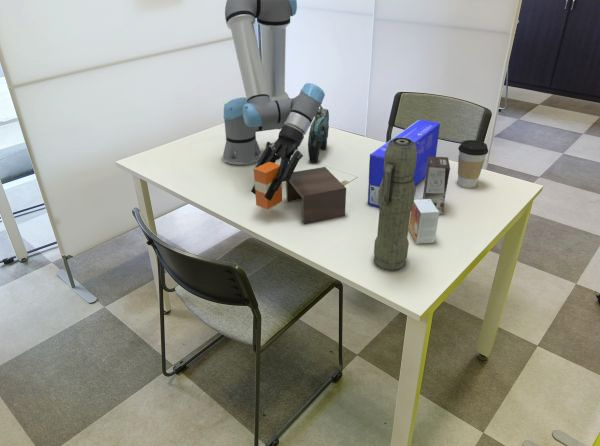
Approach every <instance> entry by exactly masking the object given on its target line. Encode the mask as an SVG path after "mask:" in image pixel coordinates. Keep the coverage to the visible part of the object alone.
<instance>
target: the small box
mask: <svg viewBox="0 0 600 446" xmlns="http://www.w3.org/2000/svg"><path fill="white" fill-rule="evenodd" d="M439 218H440V214H439V211H438V210H437V208H436V207H435V205H434V204H433V202H432V200H431V199H423V198H420V199H414V204H413V209H412V210H411V213H410V221H409V229H408V232H409V233H410V234H411V237H412V239H413V240H414V243H415V244H416V245H418V244H419V245H420V244H434V243H435V241H436V236H437V229H438V223H439Z"/></svg>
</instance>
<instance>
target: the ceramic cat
mask: <svg viewBox="0 0 600 446" xmlns="http://www.w3.org/2000/svg"><path fill="white" fill-rule="evenodd" d="M329 121H330V112H329V110H328V108H323V106H322V104H321V105H320V107H319V109H318V111H317V113H316V115H315V117H314V119H313V121H312V122H311V124H310V127H309V133H308V139H307V151H308V152H307V153H308V159H309V164H314V165H317V164H318V162H319V158H320V152H321V151H326V149H327V146H328V138H329V128H330V126H329V125H330V124H329V123H330V122H329Z"/></svg>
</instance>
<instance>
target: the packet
mask: <svg viewBox="0 0 600 446" xmlns="http://www.w3.org/2000/svg"><path fill="white" fill-rule="evenodd" d="M279 167H280V164H278V163H276V162H275V163H272V162H267V163H265V164H263V165H261V166H259V167H257V168H253V177H254V178H253V180H254V181H253V182H254V183H253V185H254V184H255V194H254V195H255V205H256V206H257V207H260V208H263V209H265V210H270V209H272V208H273V207H276V206H277V205H278V204H279V205H280V204H281V203H282V202H283V182H282V183H281V185H280V187H279V189H278V191H275V193H274V195H273V197H272V199H271V201H270V200H268V199H266V198H265V197H264V196H265V194H266V192H267V191H268V189H269V187H270V185H271V183H272V181H273V179H274V178H275V179H277V178H276V177H275V176H277V174H278V170H279Z"/></svg>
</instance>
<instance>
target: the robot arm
mask: <svg viewBox="0 0 600 446" xmlns="http://www.w3.org/2000/svg"><path fill="white" fill-rule="evenodd" d="M297 11H298V3H297V0H226V2H225V7H224V18H225V23H226V27H227V28H228V29H229V30H230V31H231V32H230V33H231V37H232V41H233V45H234V49H235V54H236V58H237V62H238V67H239V71H240V76H241V81H242V85H243V89H244V93H245V97H243V96H242V97H237V98H233V99H231V100H229V101H227V102H226V103H225V104H224V105H223V115H222V116H223V121H224V130H225V144H224V149H223V154H222V159H223V161H224V163H226V164H228V165H231V166H240V167H241V166H250V165H253V164H256V165H255V168H257V167H259V166H261V165H263V164H265V163H267V162H272V163H275V164H276V162H277V161H278V160H280V159H281V160H280V162H279V163H280V164H279V165H280V167H279V170H278V174H277V176H275V177H276V178H277V179H275V178H274V179H273V181H272V183H271V185H270V187H269V189H268V191H267V192H266V194H265V196H264V197H265V198H266V199H268V200H270V201H271V199H272V197H273V195H274V193H275V191H278V189H279V187H280V185H281V183H282V184H283V183H284V182H285V183H286V182H289V180H290V178H291V176H292V174H293V172H295V169H296V168H297V166H298V163H299V161H301V159H302V158H303V157H304V154H303V153H302V152H301V151H300V150H298V149H299V147H300V146H301V144H302V143H303V141H304V139H305V135H307V132H308V130H309V129H310V127H311V124H312V122H313V121H314V119H315V115H316V113H317V111H318V109H320V105H321V106H322V103H323V101H324V98H325V95H326V94H325V91H324V90H323V88H321V87H320V86H318V85H317V84H314V83H311V82H307V83H304V85H303V86H302V88H301V89H300V91H299V94H298V95H296V96H294V97H291V98H290V96H289V94H288V92H286V46H287V45H286V43H287V41H286V40H287V39H286V37H287V27H288V26H289V25H290V24H291V17H293V16H296V14H297ZM256 23H257V24H258V25H259V26H260V27H261V52H260V48H259V44H258V43H259V42H258V39H257V35H256V30H255V26H254V25H255V24H256ZM273 130H279V133H278V138H277V139H276V140H275V141H274V142H270V141H266V145H265V148H264V150H263V152H262V151H261V149H260V146H259V143H258V141H257V136H256V134H257V133H258V132H265V131H273ZM250 193H251V194H253V195H255V184H254V183H253V186H252V188H251V190H250Z"/></svg>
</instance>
